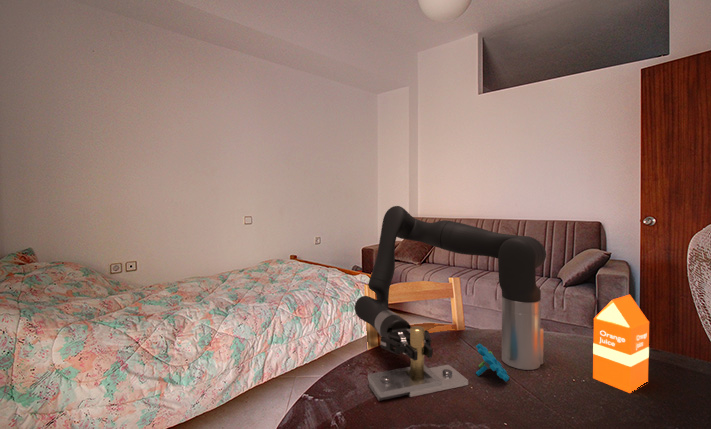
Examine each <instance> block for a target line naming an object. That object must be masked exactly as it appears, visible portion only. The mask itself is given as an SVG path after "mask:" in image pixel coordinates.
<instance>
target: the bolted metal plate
mask: <svg viewBox="0 0 711 429" xmlns="http://www.w3.org/2000/svg"><path fill="white" fill-rule="evenodd" d="M367 380H368V387H369V388H370V390H371V392H373V394H374V396H375V397H376V399H377V400H378V402H379V401H384V400H389V399H395V398H398V397H403V396H408V397H409V398H413V397H417V396H422V395H427V394H428V395H429V394H432V393H436V392H440V391H441V392H442V391H446V390H451V389H455V388H461V387H465V386H469V379H467V378H466V376H464V375H462V374H461V373H460V372H459V371H458V370H456V369H455V368H454V367H453V366H451V365H450V364H444V365H439V366H433V367H428V366H427V365H426V364H425V363H424V380H419V381H414V382H413V381H412V380H411V379H410V366H407V367H402V368H395V369H389V370H385V371H384V370H383V371H380V372H374V373H373V372H372V373H368V374H367Z"/></svg>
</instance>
